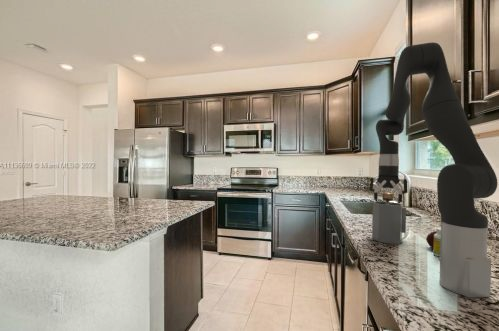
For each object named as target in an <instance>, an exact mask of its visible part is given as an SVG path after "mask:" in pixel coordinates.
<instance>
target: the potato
mask: <svg viewBox="0 0 499 331" xmlns="http://www.w3.org/2000/svg"><path fill="white" fill-rule="evenodd" d="M436 233H437V232H436V230H433V231H431V232H430V233H428V234H427V236H426V243H427V244H428V246H429V247H430V248H432V249H433V247H434V234H436Z"/></svg>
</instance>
